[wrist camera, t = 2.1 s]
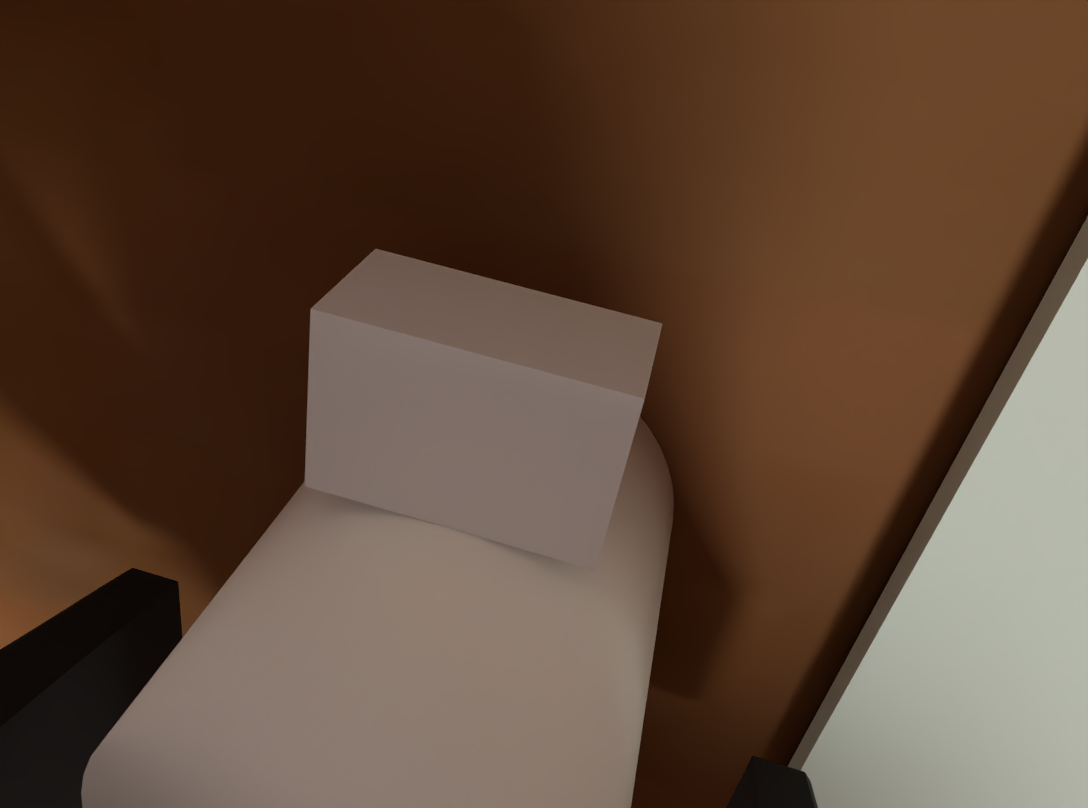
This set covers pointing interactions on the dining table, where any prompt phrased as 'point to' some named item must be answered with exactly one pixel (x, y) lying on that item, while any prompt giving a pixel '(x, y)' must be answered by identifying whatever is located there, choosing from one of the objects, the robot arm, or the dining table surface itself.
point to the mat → (983, 607)
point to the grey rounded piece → (430, 572)
